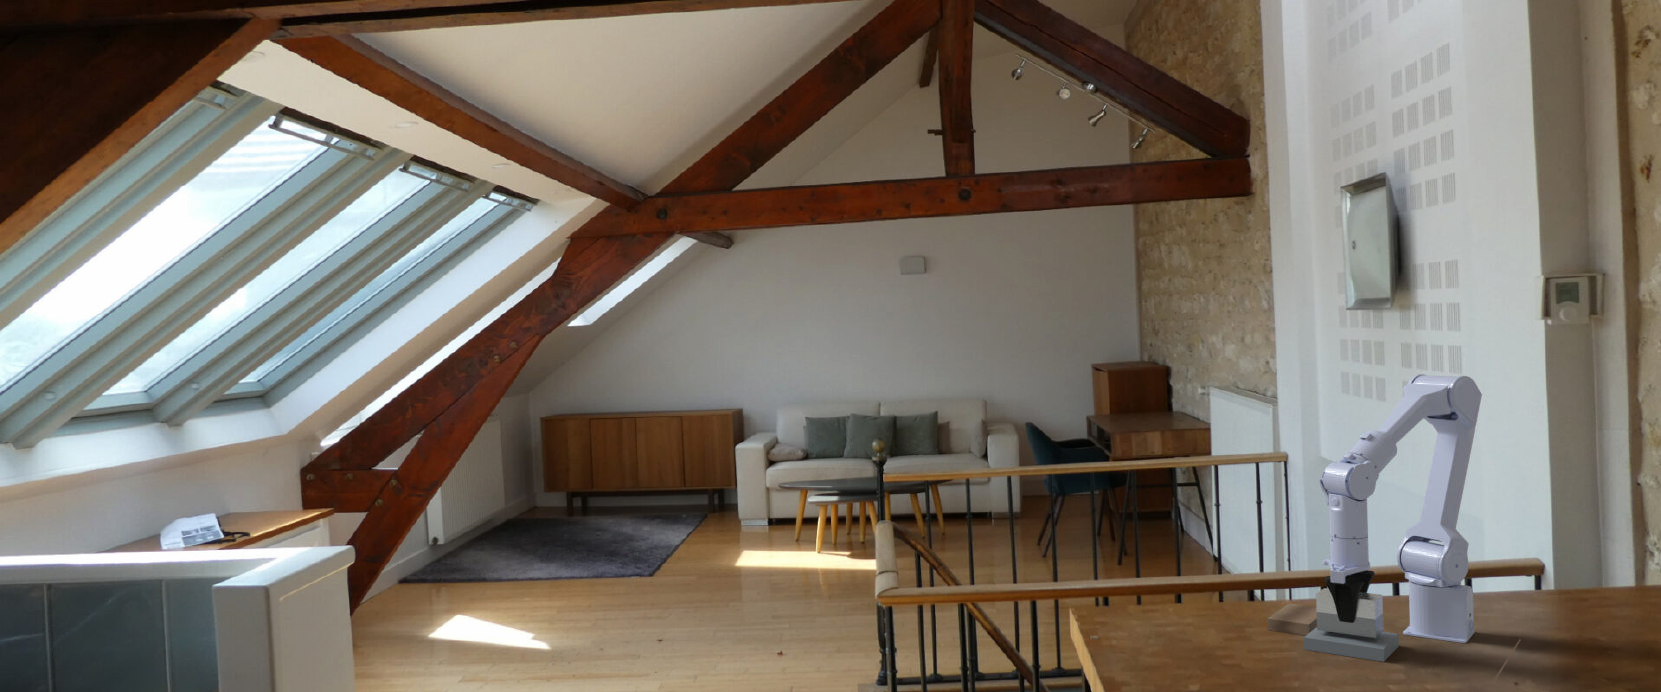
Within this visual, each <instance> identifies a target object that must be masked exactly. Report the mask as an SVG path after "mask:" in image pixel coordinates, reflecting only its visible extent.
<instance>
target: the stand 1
mask: <svg viewBox="0 0 1661 692" xmlns="http://www.w3.org/2000/svg"><path fill="white" fill-rule="evenodd" d="M1266 621H1267V622H1266V624H1267V631H1271V632H1280V633H1286V634H1293V635H1300V636H1304V637H1305V636H1306V635H1307V634H1309V633H1310V632H1311V631H1312V630H1314V629H1315V628H1316V627H1317V607H1316V606H1311V605H1305V604H1296V603H1287V604H1286V605H1285V606H1282V608H1280V609H1278V610H1277V611H1276V612H1274V613H1273V614H1272V615H1270V616H1269V617H1267V618H1266Z"/></svg>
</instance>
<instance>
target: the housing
mask: <svg viewBox="0 0 1661 692" xmlns="http://www.w3.org/2000/svg"><path fill="white" fill-rule="evenodd" d="M1315 601H1316V603H1315V605H1316V606H1315V607H1317V630H1322V631H1329V632H1336V633H1344V634H1351V635H1358V636H1365V637H1373V638H1377V637H1378V636H1379V635H1380V634H1381V633H1382V632H1384V609H1383V603H1384V602H1383V594H1380V593H1379V594H1378V593H1370V592H1367V593H1363V592H1360V593H1359V596H1358V600H1357V607H1356V615H1355V619H1354V622H1353V623H1348V622H1341V621H1339V618H1338V615H1337V611H1336V607H1335V603H1334V600H1333V597H1332V595H1331V593H1330V591H1329V589H1328V587H1326V588H1325V587H1324V588H1323V589H1321V590H1319V591H1318V592H1317V593H1315Z"/></svg>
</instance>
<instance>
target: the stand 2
mask: <svg viewBox="0 0 1661 692" xmlns="http://www.w3.org/2000/svg"><path fill="white" fill-rule="evenodd" d="M1399 647H1400V634H1399V633H1395V632H1388V631H1383V632H1382V633H1381V634H1380V635H1379V636H1378V637H1377V638H1373V637H1365V636H1358V635H1351V634H1344V633H1336V632H1329V631H1322V630H1317V627H1316V628H1315V629H1314V630H1312V631H1311V632H1310V633H1309V634H1307V635H1306V636H1305V635H1304V637H1303V649H1304V650H1305V651H1312V652H1318V653H1326V654H1332V655H1338V656H1344V657H1351V658H1357V659H1364V660H1370V661H1375V662H1376V661H1377V662H1386V660H1387V659H1388V658H1389V657H1390V656H1391V655H1392V654H1393V653H1394V652H1395V651H1396V650H1397V649H1398V648H1399Z"/></svg>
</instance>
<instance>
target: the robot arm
mask: <svg viewBox="0 0 1661 692" xmlns="http://www.w3.org/2000/svg"><path fill="white" fill-rule="evenodd" d="M1482 396H1483V394H1482V392H1481V390H1480V389H1479V387H1478V385H1477V382H1475V380H1474V379H1473V378H1471V377H1469V376H1467V375H1460V376H1455V375H1454V376H1453V375H1430V374H1429V375H1427V374H1424V373H1423V374H1421V373H1420V374H1419V373H1418V374H1415V375H1414V376H1412V378H1410V379H1409V381H1408V383H1407V384H1405V385H1404V386H1403V389H1402V399H1401V400H1399V403H1397V405H1396V406H1395V408H1394V409H1393V410H1392V411H1391V413H1390V414H1389V416H1387V418H1386V420H1384V421H1383V423H1382V424H1381V425H1380V427H1379V428H1378V430H1368V431H1366V432H1362V433H1361V434H1360V436H1359V440H1358V441H1356V442H1355V444H1354V445H1353V446H1352V447H1351V448H1350V449H1349V450H1348V452H1346V453H1345V454H1344V455H1343V457H1342V458H1340V460H1339V461H1334V462H1330V463H1329V465H1327V466H1326V467H1324V469H1323V471H1322V474H1321V478H1319V481H1318V482H1319V487H1320V488H1321V490H1322V492H1323V493H1324V495H1325V503H1326V505H1327V506H1328V522H1329V523H1328V524H1329V554H1330V555H1329V557H1330V558H1325V559H1323V560H1322V565H1323V566H1328V567H1329V570H1330V572H1329V573H1330V576H1329V575H1327V576H1326V577H1325V578H1324V583H1325V586H1326V588H1328V589H1329V591H1330V593H1331V595H1332V597H1333V600H1334V603H1335V607H1336V611H1337V615H1338V618H1339V621H1341V622H1348V623H1353V622H1354V619H1355V615H1356V607H1357V600H1358V596H1359V593H1360V592H1363V593H1368V591H1369V588H1370V586H1371V582H1372V581H1373V579H1374V577H1375V576H1376V575H1375V571H1373V570H1370V569H1371V563H1370V560H1369V558H1370V556H1369V555H1370V554H1369V529H1368V528H1369V526H1368V525H1369V523H1368V520H1369V519H1368V517H1369V515H1368V499H1369V498H1370V496H1372V495H1373V494H1374V493H1375V490H1376V485H1377V481H1378V479H1379V477H1380V473H1382V471H1384V469H1385V468H1386V467H1387V466H1388V465H1389V463H1390V462H1391V461H1392V460H1393V459H1394V458H1395V457H1396V456H1397V454H1398V445H1397V444H1398V443H1399V442H1400V441H1401V440H1403V438H1404V437H1405V436H1407V434H1408V433H1410V432H1411V430H1413V429H1414V428H1415V427H1416V426H1417V425H1418V424H1420V422H1421V421H1422V420H1425V421H1426V422H1427V423H1428V424H1430V425H1432V426H1433V428H1434V429H1435V430H1436V433H1437V435H1436V441H1435V445H1434V450H1433V456H1432V461H1431V466H1430V470H1429V475H1428V480H1427V484H1426V485H1427V486H1426V490H1425V495H1424V499H1423V505H1422V510H1421V516H1420V520H1419V521H1418V522H1416V523H1415V524H1413V525H1411V526H1410V527H1409V528H1407V529H1406V530H1405V532H1404V533H1405V534H1404V537H1403V540H1402V542H1401V544H1400V545H1399V546H1398V549H1397V553H1396V562H1397V566H1398V567H1399V569H1400V570H1401V572H1403V573H1404V579H1406V580H1408V597H1409V601H1408V602H1409V625H1408V626H1407V628H1406V629H1405V630H1403V631H1402V635H1405V636H1410V637H1411V636H1412V637H1416V638H1417V637H1418V638H1423V639H1424V638H1425V639H1432V640H1438V641H1439V640H1440V641H1447V642H1454V643H1460V644H1466V643H1468V642H1469V641H1470V639H1471V637H1472V636H1473V635H1474V634H1475V633H1476V632H1475V623H1474V618H1475V617H1474V615H1475V613H1474V594H1473V589H1472V586H1470V585H1466V584H1462V581H1464V580H1465V578H1466V576H1467V574H1468V572H1469V557H1468V549H1469V545H1470V544H1469V542H1468V541H1467V540H1466V539H1465V537H1464V536H1463V535H1462V533H1460V532H1459V531H1458V530H1457V524H1458V520H1459V519H1458V518H1459V514H1460V509H1461V504H1462V499H1463V495H1464V488H1465V484H1466V478H1467V473H1468V468H1469V465H1470V464H1469V463H1470V457H1471V453H1472V448H1473V442H1474V437H1475V432H1476V426H1477V423H1478V422H1477V421H1478V418H1479V417H1478V416H1479V412H1480V406H1481V401H1482ZM1433 541H1434V542H1433ZM1435 542H1440V543H1442V544H1439V543H1435Z"/></svg>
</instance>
